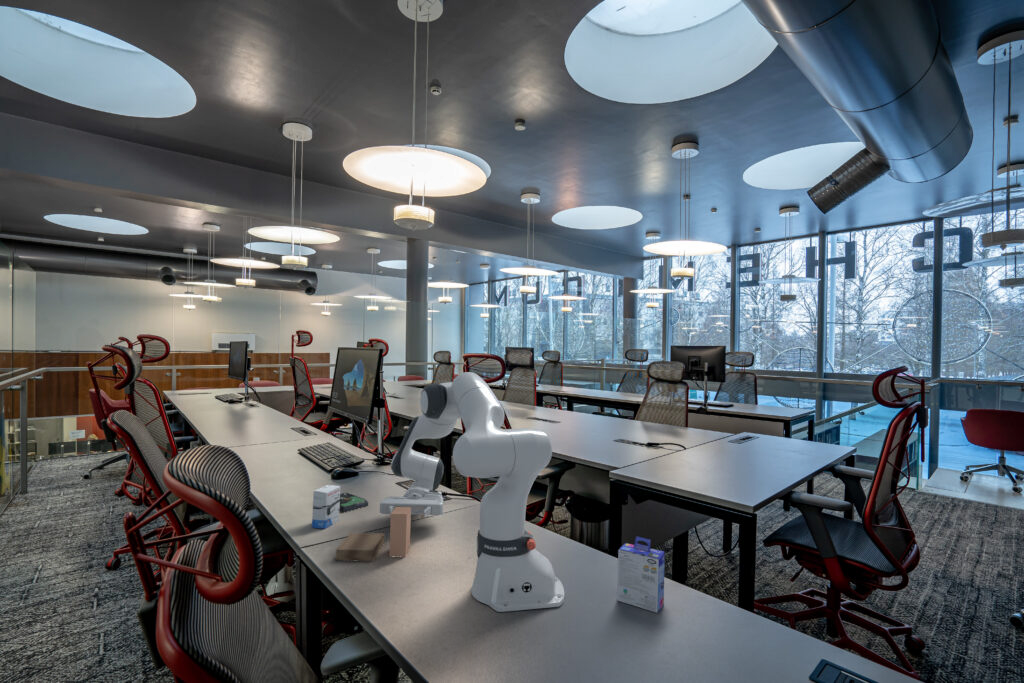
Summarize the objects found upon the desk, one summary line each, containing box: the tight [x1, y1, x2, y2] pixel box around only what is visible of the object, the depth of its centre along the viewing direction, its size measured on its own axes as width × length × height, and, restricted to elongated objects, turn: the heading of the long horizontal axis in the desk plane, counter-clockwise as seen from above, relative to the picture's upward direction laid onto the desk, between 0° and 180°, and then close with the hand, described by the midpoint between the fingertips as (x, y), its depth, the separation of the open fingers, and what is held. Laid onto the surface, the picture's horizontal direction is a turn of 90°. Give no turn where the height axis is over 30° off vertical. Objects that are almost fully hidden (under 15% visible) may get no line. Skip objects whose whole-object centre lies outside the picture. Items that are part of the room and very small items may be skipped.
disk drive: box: [339, 492, 369, 513], centre depth 174 cm, size 10×3×15 cm
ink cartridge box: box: [616, 536, 666, 613], centre depth 110 cm, size 10×6×14 cm, turn 58°
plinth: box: [335, 532, 385, 562], centre depth 134 cm, size 10×12×3 cm
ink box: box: [311, 484, 341, 530], centre depth 155 cm, size 8×5×12 cm, turn 168°
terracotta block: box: [388, 507, 412, 558], centre depth 134 cm, size 4×6×12 cm
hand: (407, 514), depth 144 cm, fingers open, 8 cm apart
